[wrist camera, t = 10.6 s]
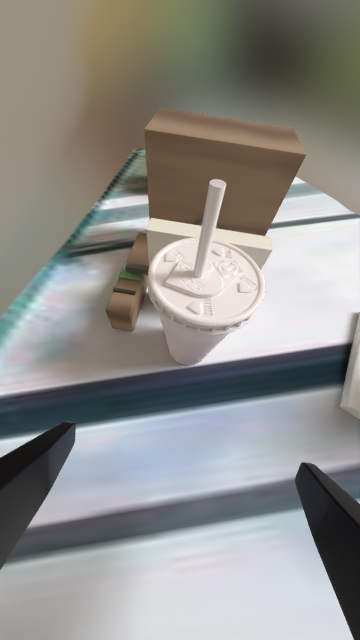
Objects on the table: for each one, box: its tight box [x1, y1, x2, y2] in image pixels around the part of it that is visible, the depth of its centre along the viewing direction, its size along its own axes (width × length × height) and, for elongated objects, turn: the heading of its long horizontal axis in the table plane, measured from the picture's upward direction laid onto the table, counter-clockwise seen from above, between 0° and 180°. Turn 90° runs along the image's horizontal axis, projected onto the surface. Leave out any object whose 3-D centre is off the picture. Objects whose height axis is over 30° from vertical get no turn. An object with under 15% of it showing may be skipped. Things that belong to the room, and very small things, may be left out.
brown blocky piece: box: [106, 108, 306, 331], centre depth 18 cm, size 16×14×12 cm
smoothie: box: [148, 179, 265, 365], centre depth 13 cm, size 6×6×14 cm
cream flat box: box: [125, 218, 272, 275], centre depth 17 cm, size 2×11×7 cm, turn 81°
